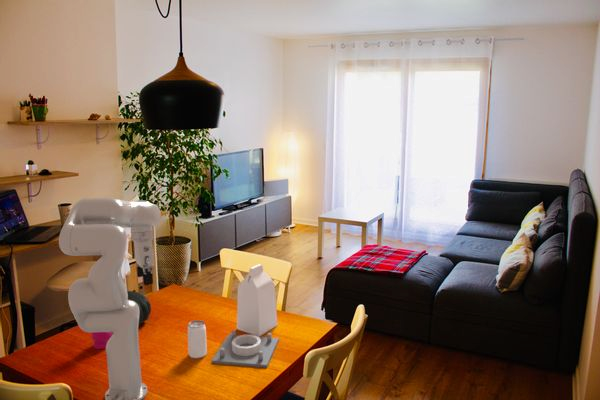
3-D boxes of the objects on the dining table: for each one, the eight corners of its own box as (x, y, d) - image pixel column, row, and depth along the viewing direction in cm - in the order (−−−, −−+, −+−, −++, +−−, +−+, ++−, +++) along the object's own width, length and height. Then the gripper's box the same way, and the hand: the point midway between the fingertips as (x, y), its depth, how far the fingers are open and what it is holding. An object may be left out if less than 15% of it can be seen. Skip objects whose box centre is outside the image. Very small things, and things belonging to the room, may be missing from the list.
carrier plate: (267, 367, 174) (266, 357, 173) (211, 362, 177) (211, 352, 177) (278, 340, 193) (278, 330, 193) (228, 336, 197) (228, 327, 196)
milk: (259, 336, 197) (257, 273, 192) (236, 329, 203) (235, 267, 198) (277, 325, 207) (276, 264, 201) (255, 318, 213) (254, 259, 208)
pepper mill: (106, 350, 186) (101, 300, 182) (88, 348, 188) (83, 298, 184) (117, 341, 193) (112, 292, 189) (100, 339, 195) (95, 291, 191)
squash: (163, 305, 213) (139, 278, 213) (144, 321, 199) (119, 293, 199) (142, 323, 218) (120, 297, 218) (122, 340, 204) (98, 312, 204)
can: (185, 356, 182) (183, 325, 180) (196, 348, 188) (195, 318, 185) (199, 360, 179) (197, 329, 177) (210, 352, 185) (209, 322, 182)
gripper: (158, 239, 176) (161, 285, 179) (146, 228, 190) (149, 271, 193) (136, 242, 172) (140, 289, 175) (126, 231, 186) (129, 275, 190)
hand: (145, 280), depth 184 cm, fingers open, 9 cm apart
